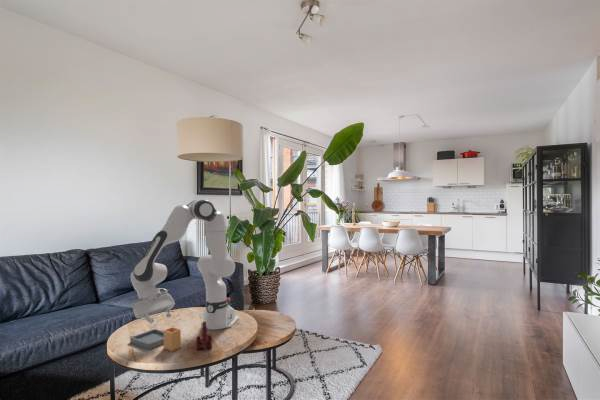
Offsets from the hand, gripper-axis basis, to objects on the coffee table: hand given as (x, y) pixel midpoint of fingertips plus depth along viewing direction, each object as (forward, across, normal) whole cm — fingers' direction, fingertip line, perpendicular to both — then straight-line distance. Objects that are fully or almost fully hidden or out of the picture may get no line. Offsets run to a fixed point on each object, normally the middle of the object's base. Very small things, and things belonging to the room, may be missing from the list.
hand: (160, 319), depth 169 cm
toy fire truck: (+22, +10, -5) cm, 25 cm away
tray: (+3, 0, +14) cm, 14 cm away
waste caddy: (+15, 0, +3) cm, 15 cm away
